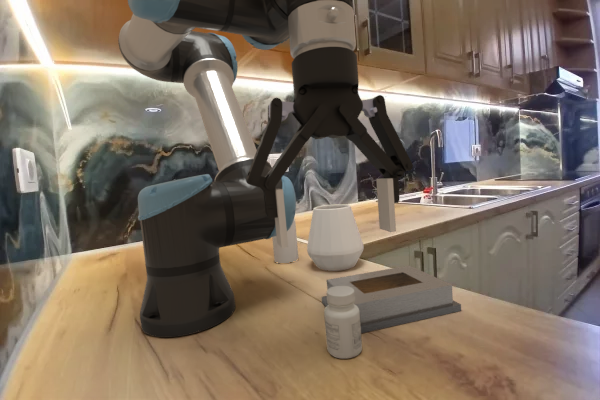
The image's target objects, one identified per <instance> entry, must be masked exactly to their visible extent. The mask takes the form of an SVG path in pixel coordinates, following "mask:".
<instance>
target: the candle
mask: <svg viewBox="0 0 600 400" xmlns="http://www.w3.org/2000/svg"><path fill="white" fill-rule="evenodd" d="M297 237H298V236H297V225H296V219H295V218H294V220H293V223H292V225H291V227H290V229H289V230H288V231H287V239H288V247H285V248H281V247H280V246H279V245H278V244H277V236H274V237H271V238H272V246H273V247H272V248H273V259H274V263H275V262H278V263H289V262H293V261H296V260H297V259H298V258H299V249H298V248H299V247H298V238H297ZM296 262H297V261H296ZM278 263H277V264H278ZM289 264H290V263H289Z"/></svg>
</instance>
